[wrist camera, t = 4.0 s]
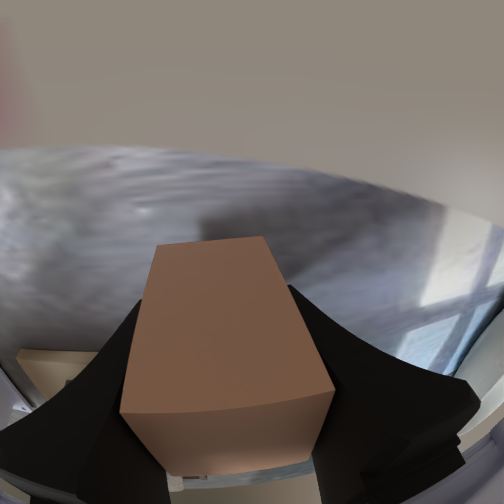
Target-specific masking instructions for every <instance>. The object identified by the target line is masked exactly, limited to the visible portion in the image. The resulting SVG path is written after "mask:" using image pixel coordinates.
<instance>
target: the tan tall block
mask: <svg viewBox="0 0 504 504" xmlns="http://www.w3.org/2000/svg"><path fill="white" fill-rule="evenodd" d="M334 392H335V388H334V386H333V383H332V381H331V379H330V377H329V375H328V372H327V370H326V368H325V366H324V364H323V361H322V359H321V357H320V355H319V353H318V351H317V348H316V346H315V344H314V342H313V340H312V338H311V335H310V333H309V331H308V329H307V327H306V325H305V322H304V320H303V318H302V316H301V314H300V312H299V310H298V308H297V305H296V303H295V301H294V299H293V297H292V295H291V293H290V291H289V288H288V286H287V284H286V282H285V280H284V278H283V276H282V274H281V272H280V270H279V268H278V265H277V263H276V261H275V259H274V257H273V255H272V253H271V251H270V249H269V247H268V245H267V243H266V241H265V238H264V236H253V237H242V238H231V239H220V240H209V241H199V242H188V243H178V244H168V245H158V246H157V249H156V252H155V255H154V259H153V262H152V265H151V269H150V272H149V276H148V280H147V283H146V287H145V291H144V295H143V298H142V302H141V306H140V310H139V315H138V319H137V323H136V327H135V332H134V336H133V341H132V345H131V350H130V355H129V360H128V365H127V370H126V376H125V381H124V387H123V393H122V399H121V406H120V414H121V415H122V417H123V418H124V420H125V421H126V422H127V424H128V425H129V426H130V428H131V429H132V430H133V432H134V433H135V434H136V435H137V437H138V438H139V439H140V441H141V442H142V443H143V444H144V445H145V447H146V448H147V449H148V450H149V452H150V453H151V454H152V455H153V456H154V457H155V459H156V460H157V461H158V462H159V463H160V464H161V465H162V466H163V468H164V469H165V470H166V471H167V472H168V473H169V474H170V475H171V476H208V475H222V474H233V473H242V472H250V471H257V470H263V469H269V468H275V467H281V466H286V465H291V464H295V463H300V462H304V461H308V459H309V457H310V455H311V452H312V450H313V447H314V445H315V443H316V440H317V438H318V435H319V433H320V430H321V428H322V425H323V423H324V420H325V417H326V415H327V412H328V409H329V407H330V404H331V401H332V398H333V395H334Z"/></svg>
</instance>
